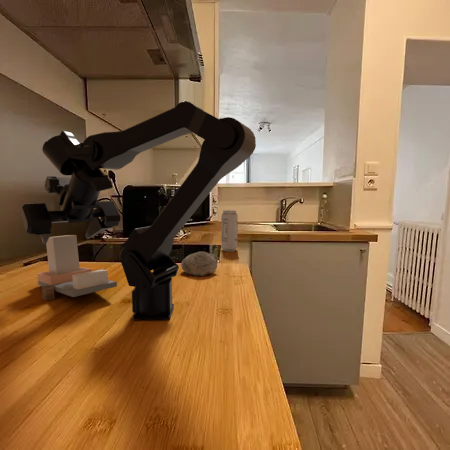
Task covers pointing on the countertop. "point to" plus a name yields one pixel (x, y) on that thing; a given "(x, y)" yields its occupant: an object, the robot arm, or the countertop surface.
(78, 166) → the robot arm
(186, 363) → the countertop surface
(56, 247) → the grey block
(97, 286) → the board
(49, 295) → the pivot stand
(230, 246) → the energy drink can
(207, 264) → the fossilized seashell
